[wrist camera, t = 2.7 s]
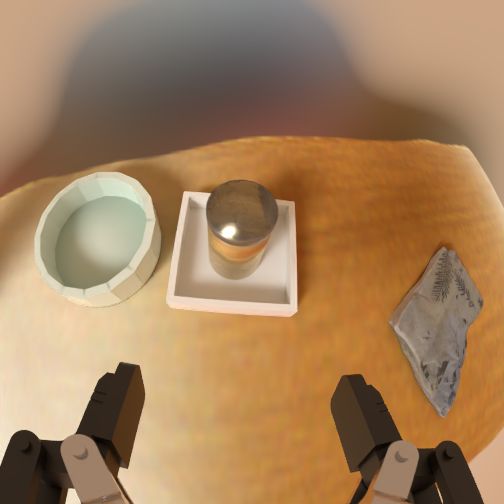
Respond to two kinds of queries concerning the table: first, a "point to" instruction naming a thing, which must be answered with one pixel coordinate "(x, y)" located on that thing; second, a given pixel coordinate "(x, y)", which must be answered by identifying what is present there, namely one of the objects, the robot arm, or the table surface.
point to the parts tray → (225, 290)
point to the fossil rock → (438, 326)
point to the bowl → (98, 240)
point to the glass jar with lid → (239, 227)
